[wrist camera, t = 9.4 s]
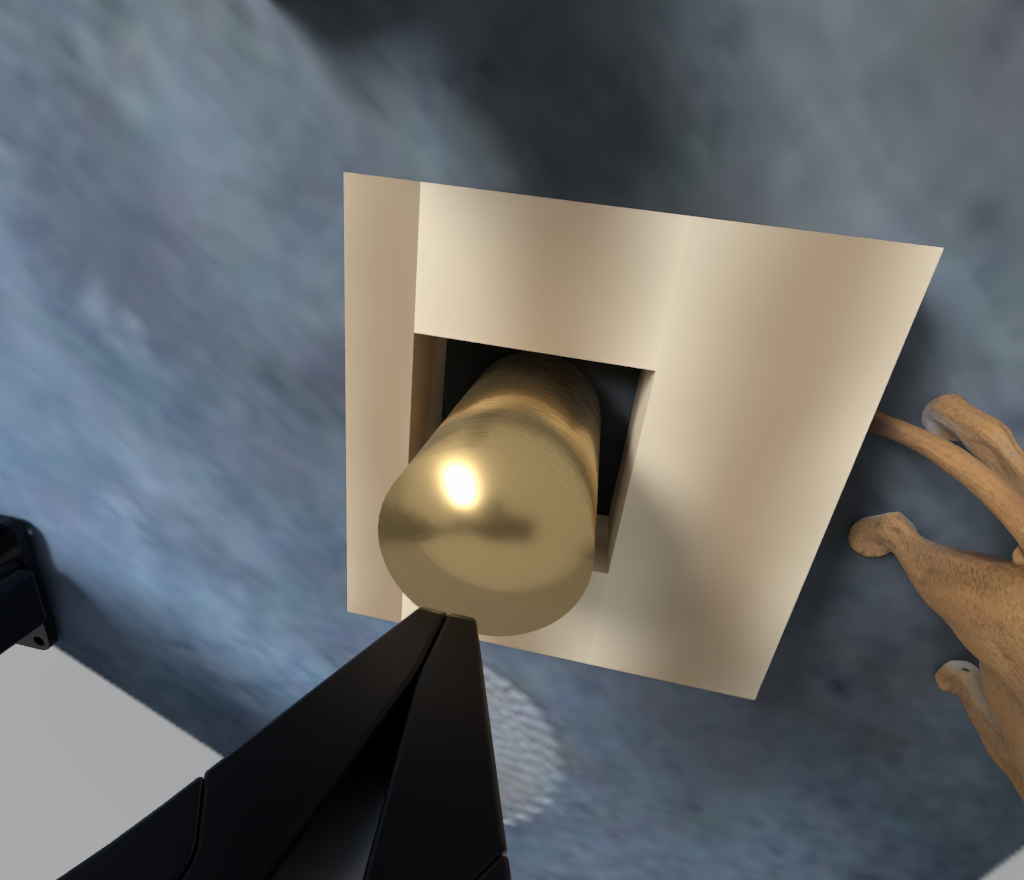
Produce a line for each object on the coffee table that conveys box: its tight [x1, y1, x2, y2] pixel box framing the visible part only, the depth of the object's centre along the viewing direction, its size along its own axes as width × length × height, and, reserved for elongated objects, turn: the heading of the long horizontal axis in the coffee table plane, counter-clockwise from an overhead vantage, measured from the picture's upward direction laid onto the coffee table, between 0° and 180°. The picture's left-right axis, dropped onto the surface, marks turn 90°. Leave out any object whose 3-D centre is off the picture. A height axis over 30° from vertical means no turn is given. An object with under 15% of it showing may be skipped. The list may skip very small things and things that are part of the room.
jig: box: [344, 172, 944, 700], centre depth 15 cm, size 12×12×3 cm
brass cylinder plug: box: [378, 351, 601, 636], centre depth 13 cm, size 4×4×7 cm
